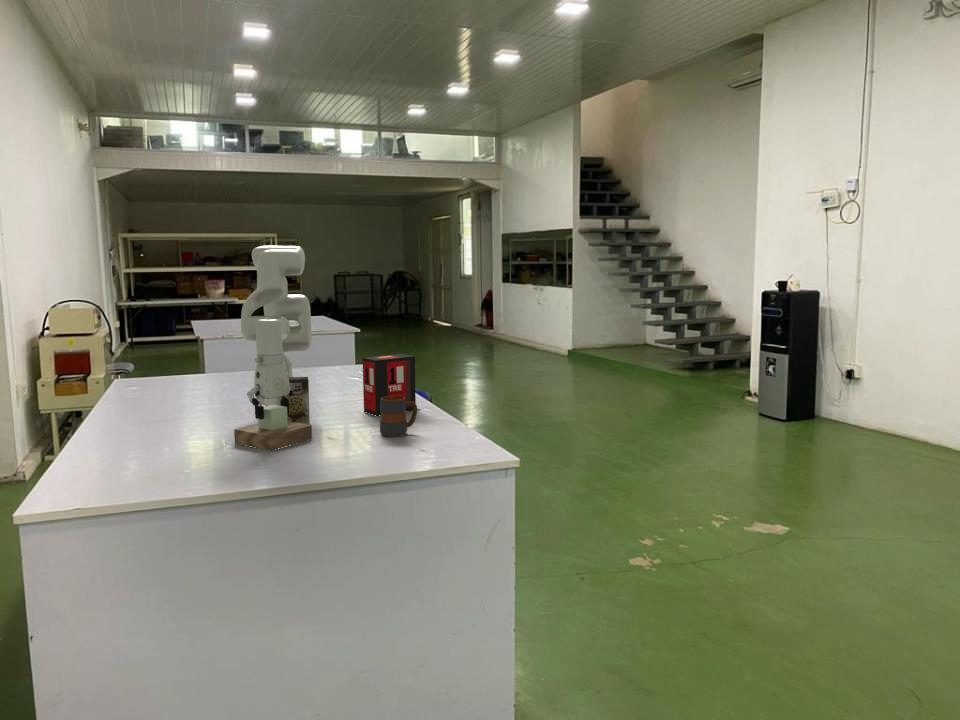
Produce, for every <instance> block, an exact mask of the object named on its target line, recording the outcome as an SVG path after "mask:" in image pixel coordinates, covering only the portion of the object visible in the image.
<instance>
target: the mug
mask: <svg viewBox="0 0 960 720" xmlns="http://www.w3.org/2000/svg"><path fill="white" fill-rule="evenodd" d="M416 403H417V402H416ZM416 403H414V402H406V400H405V397H403V396H385V397H382V398H381V399H380V412H381V416H380V420H379V433H380V434H381V436H383V435H384V436H383V437H386V436H399V437H402V436H401V435H403V436H405V435H406V434H407V432H408V428H411V426H413V425H414V423H415V422H416V419H417V416H418V405H417V404H416ZM406 406H413V411H411V412H412V413H411V416H410V420H409V421H407V420H408V419H406V412H405V411H406ZM404 434H405V435H404Z"/></svg>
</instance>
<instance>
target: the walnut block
mask: <svg viewBox="0 0 960 720" xmlns="http://www.w3.org/2000/svg"><path fill="white" fill-rule="evenodd" d="M312 430H313V428H312V424H310V425H308V424H302V423H296V422H291V421H288V426H286V427H283V428H279V429H275V430H269V429H264V428H259V422H257V423H253V424H250V425H249V424H248V425H245V426H242V427H237V428H234V429H233V431H234V436H233V437H234V444H235V443H237V444H236V445H238V444H242V445H241V446H243V445H247V446H246V447H248V446H252V447H256V448H255V449H257V448H260V449H259V450H262V449H265V450H264V451H266V450H270V451H269V452H273V451H272V450H274V451H276V450H275V449H278V448H281V447H285V446H288V447H290V446H289V445H292V446H294V445H293V444H295V445H297V444H296V443H298V444H301V443H300V442H302V443H305V442H308V441H307V440H309V441H312V440H313V434H312V433H313V431H312ZM311 439H312V440H311ZM304 441H305V442H304ZM252 447H251V448H252ZM285 448H286V447H285ZM281 449H282V448H281ZM278 450H279V449H278Z"/></svg>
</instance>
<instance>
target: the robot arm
mask: <svg viewBox="0 0 960 720" xmlns="http://www.w3.org/2000/svg"><path fill="white" fill-rule="evenodd" d="M251 260H252V263H253V266H254V267H255V270H256V277H257V278H256V286H257V287H256V289H255V290H253V292H251V294H250V295H249V296H247V298H246V300H245V301H244V303H243V304H242V308H241V315H240V317H241V318H240V319H241V320H240V333H241V335H242V337H243V338H244V339H245V340H247V341H249V342H250V341H251V342H252V341H253V342H254V341H255V343H256V344H255V345H256V349H255V350H256V358H254V362H255V363H256V366H255V369H254V370H255V371H254V376H253V377H254V380H253V382H254V386H253V387H252V388H251V389H250V390H249V391H247V393H246V396H247V398H248V401H249V402H250V403H251V404H252V405H253V406H254V416H255V417H254V418H255V419H256V420H258V419H261V420H262V419H264V407H265V406H270V405H279V406H285V407H287V413H289V400H290V399H291V396H292V394H293V390H294V387H295V385H294V384H292V383H290V382H289V377H294V374H293V371H294V370H293V364H292V360H291V359H290V358H289V356H287V355H286V353H290V352H291V353H293V352H306V351H307V352H308V351H309V350H310V349H311V347H312V343H313V342H312V341H313V339H312V338H313V337H312V335H313V334H312V315H311V304H310V301H309V298H308V297H307V296H306V295H304V294H299V293H298V294H297V293H295V294H289V292H288V289H289V288H288V280H287V277H286V276H301V275H302V274H303V273H304V270H305V265H306V255H305V251H304V249H303V248H302V247H301V246H298V245H297V246H296V245H261V246H256V247H255V248H253V249H252V251H251ZM261 307H263V313H264V315H253V313H254V312H255V311H256V310H258V309H259V308H261ZM252 315H253V316H252ZM290 322H296V323H297V324H290ZM281 398H282V400H281Z"/></svg>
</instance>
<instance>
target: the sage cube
mask: <svg viewBox="0 0 960 720" xmlns="http://www.w3.org/2000/svg"><path fill="white" fill-rule="evenodd" d="M263 407H264V419H262V420H261V419H257V420H258V422H257V423H259V428H264V429H269V430H275V429H279V428H283V427H286V426H288V420H287V407H285V406H279V405H270V406H265V405H264V406H263Z"/></svg>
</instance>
